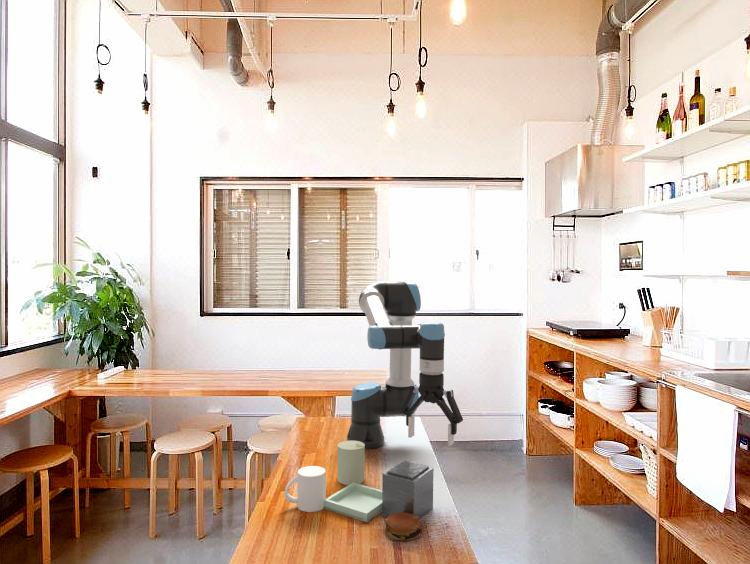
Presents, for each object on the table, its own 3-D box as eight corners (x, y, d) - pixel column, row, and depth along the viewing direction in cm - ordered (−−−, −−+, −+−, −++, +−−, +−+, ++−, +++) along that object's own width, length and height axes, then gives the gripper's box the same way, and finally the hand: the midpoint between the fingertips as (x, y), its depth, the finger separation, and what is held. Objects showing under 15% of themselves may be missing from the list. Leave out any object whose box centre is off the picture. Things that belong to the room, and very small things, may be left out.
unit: (403, 499, 156) (404, 458, 156) (433, 508, 151) (434, 465, 151) (382, 516, 146) (382, 471, 146) (413, 525, 141) (413, 479, 140)
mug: (326, 475, 148) (283, 477, 146) (326, 511, 148) (283, 513, 147) (325, 465, 156) (285, 466, 155) (325, 498, 156) (284, 500, 155)
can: (361, 486, 166) (361, 449, 165) (333, 483, 168) (333, 447, 167) (367, 475, 175) (367, 440, 174) (340, 472, 177) (341, 438, 176)
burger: (377, 531, 138) (378, 514, 138) (405, 522, 143) (405, 505, 143) (400, 548, 130) (400, 529, 129) (428, 537, 135) (429, 520, 135)
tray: (353, 490, 163) (353, 482, 163) (394, 502, 155) (394, 493, 155) (323, 508, 150) (323, 500, 150) (366, 522, 142) (366, 513, 142)
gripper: (390, 369, 164) (389, 436, 164) (464, 379, 150) (463, 451, 151) (402, 366, 170) (401, 430, 171) (474, 375, 157) (473, 444, 157)
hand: (430, 440), depth 161 cm, fingers open, 13 cm apart
